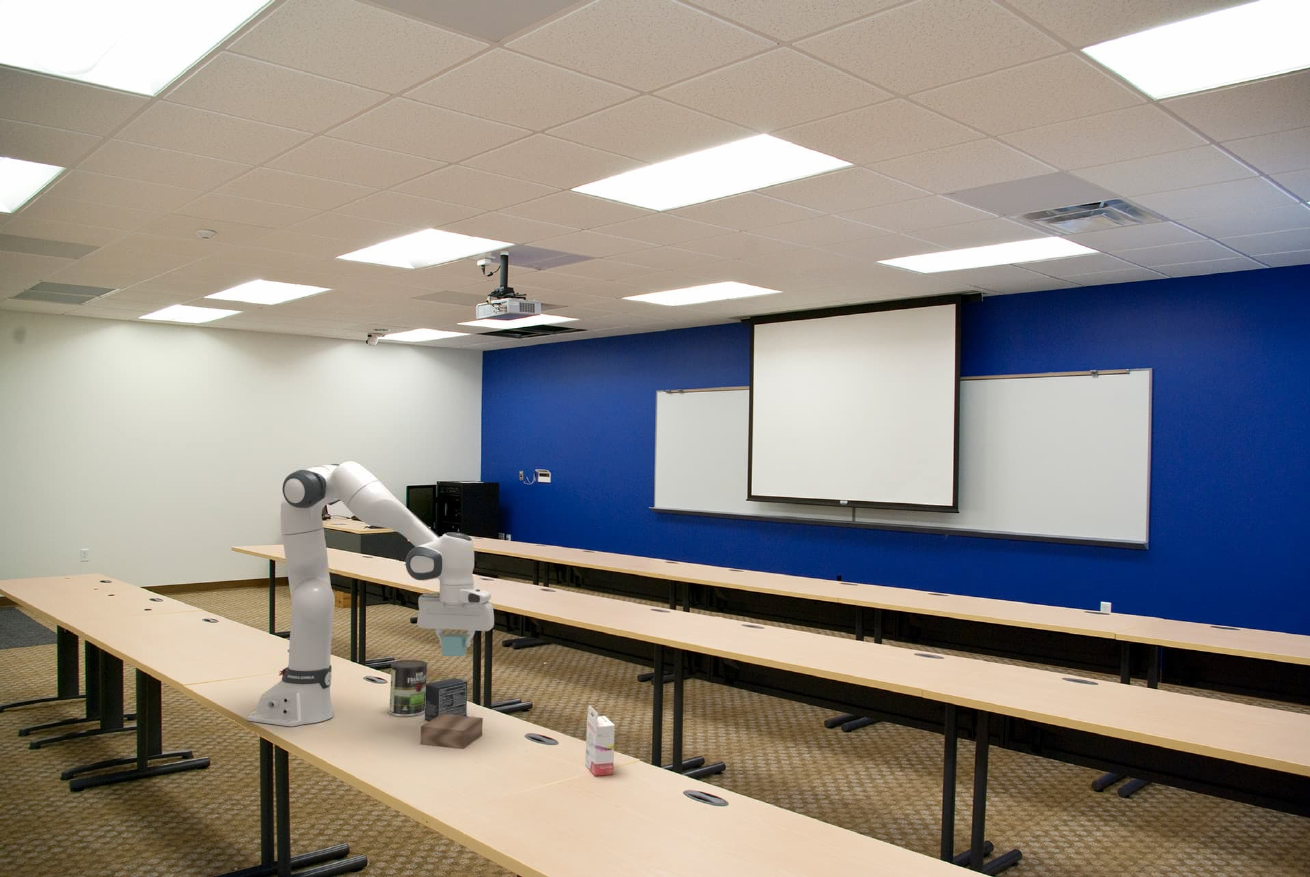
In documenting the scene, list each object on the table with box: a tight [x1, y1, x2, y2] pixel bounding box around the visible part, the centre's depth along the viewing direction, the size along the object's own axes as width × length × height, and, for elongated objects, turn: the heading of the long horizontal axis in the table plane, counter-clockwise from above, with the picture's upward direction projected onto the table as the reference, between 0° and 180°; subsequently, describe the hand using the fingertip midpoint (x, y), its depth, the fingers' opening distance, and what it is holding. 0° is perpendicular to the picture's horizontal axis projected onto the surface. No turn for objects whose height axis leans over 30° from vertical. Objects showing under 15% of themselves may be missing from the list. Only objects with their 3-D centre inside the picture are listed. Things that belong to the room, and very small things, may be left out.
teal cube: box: [441, 632, 468, 658], centre depth 227 cm, size 5×5×5 cm
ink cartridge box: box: [584, 705, 616, 777], centre depth 207 cm, size 9×5×15 cm, turn 21°
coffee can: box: [388, 659, 428, 718], centre depth 250 cm, size 10×10×14 cm
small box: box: [424, 677, 468, 722], centre depth 245 cm, size 11×6×10 cm, turn 141°
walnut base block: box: [419, 714, 484, 750], centre depth 226 cm, size 12×12×5 cm
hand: (454, 646), depth 227 cm, fingers closed on teal cube, 5 cm apart
